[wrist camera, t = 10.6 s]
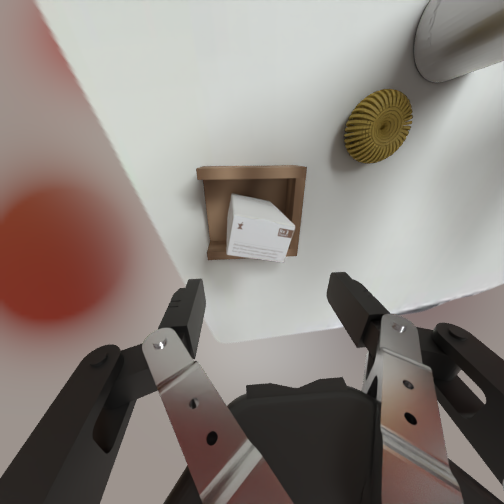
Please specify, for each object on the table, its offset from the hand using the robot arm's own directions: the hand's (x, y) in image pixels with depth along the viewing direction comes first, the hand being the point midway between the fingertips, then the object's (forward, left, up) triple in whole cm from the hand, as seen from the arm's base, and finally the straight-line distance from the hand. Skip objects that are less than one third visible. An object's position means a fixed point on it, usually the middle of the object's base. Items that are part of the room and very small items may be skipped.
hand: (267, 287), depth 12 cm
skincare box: (0, 0, -19) cm, 19 cm away
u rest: (0, 0, -20) cm, 20 cm away
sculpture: (-17, -10, -20) cm, 28 cm away
